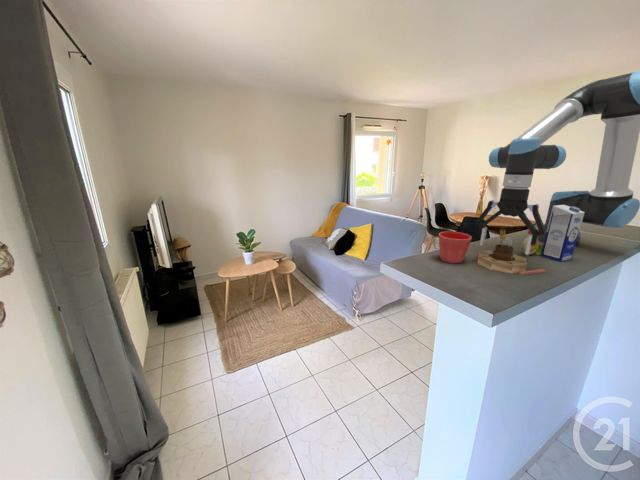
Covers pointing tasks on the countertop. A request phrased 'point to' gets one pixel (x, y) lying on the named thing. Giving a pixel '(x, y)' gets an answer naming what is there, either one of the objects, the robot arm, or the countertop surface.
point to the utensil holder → (503, 250)
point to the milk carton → (562, 232)
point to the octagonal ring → (502, 263)
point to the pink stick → (532, 272)
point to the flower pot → (453, 246)
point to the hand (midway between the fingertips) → (503, 249)
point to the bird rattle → (532, 246)
